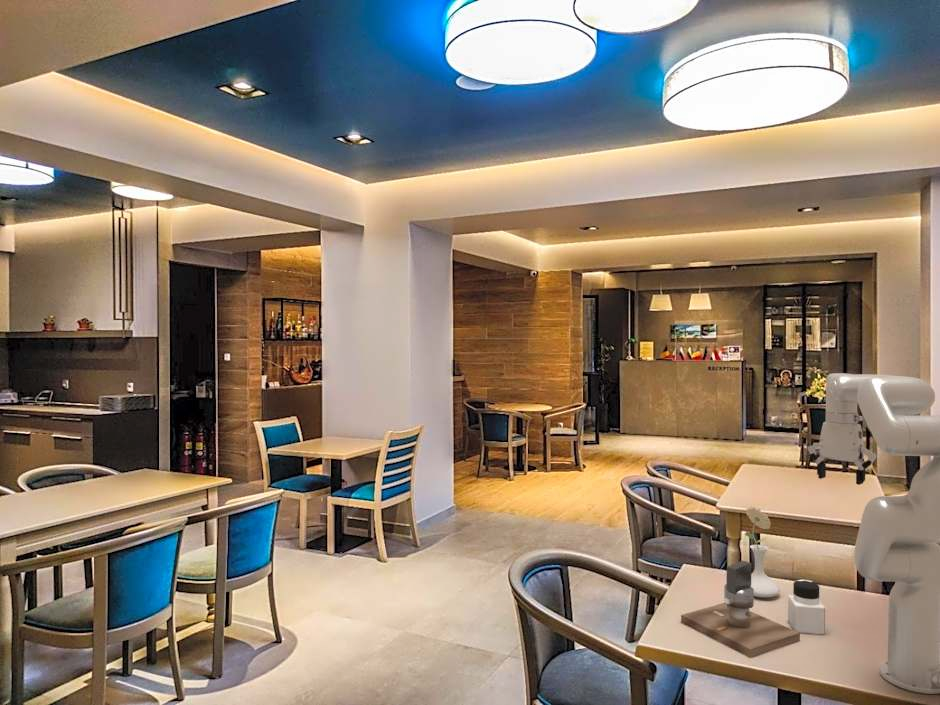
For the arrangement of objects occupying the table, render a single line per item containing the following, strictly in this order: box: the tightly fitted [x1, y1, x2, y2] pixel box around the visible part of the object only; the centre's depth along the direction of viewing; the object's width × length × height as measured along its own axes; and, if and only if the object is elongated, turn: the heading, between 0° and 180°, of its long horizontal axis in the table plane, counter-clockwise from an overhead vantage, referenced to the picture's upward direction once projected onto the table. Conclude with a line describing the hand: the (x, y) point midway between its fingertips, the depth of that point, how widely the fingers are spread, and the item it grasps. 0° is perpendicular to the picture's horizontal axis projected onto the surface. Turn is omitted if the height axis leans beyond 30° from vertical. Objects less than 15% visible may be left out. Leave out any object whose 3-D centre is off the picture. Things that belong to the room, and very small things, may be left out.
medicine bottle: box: [787, 579, 826, 635], centre depth 174 cm, size 7×7×12 cm
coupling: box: [723, 560, 755, 610], centre depth 171 cm, size 10×7×10 cm
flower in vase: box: [744, 506, 781, 598], centre depth 197 cm, size 13×11×25 cm
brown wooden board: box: [680, 602, 801, 659], centre depth 172 cm, size 22×18×7 cm
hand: (840, 480), depth 182 cm, fingers open, 9 cm apart
